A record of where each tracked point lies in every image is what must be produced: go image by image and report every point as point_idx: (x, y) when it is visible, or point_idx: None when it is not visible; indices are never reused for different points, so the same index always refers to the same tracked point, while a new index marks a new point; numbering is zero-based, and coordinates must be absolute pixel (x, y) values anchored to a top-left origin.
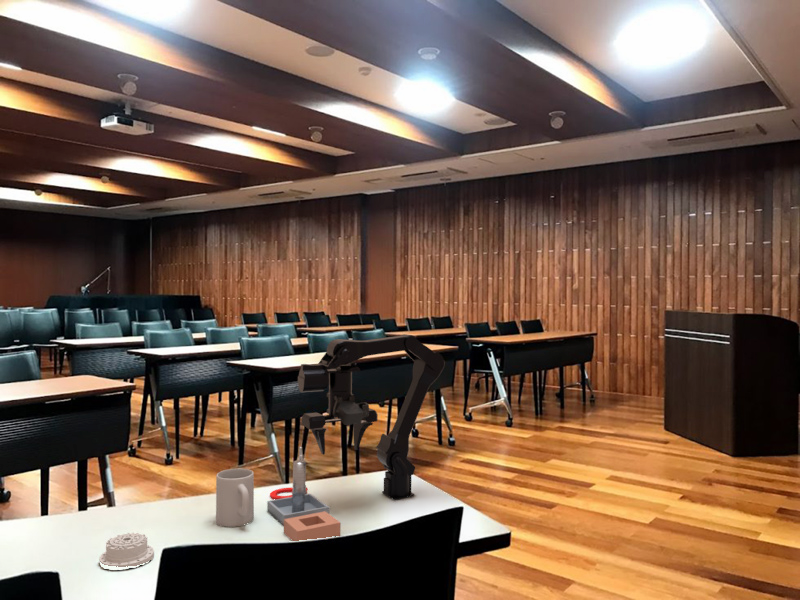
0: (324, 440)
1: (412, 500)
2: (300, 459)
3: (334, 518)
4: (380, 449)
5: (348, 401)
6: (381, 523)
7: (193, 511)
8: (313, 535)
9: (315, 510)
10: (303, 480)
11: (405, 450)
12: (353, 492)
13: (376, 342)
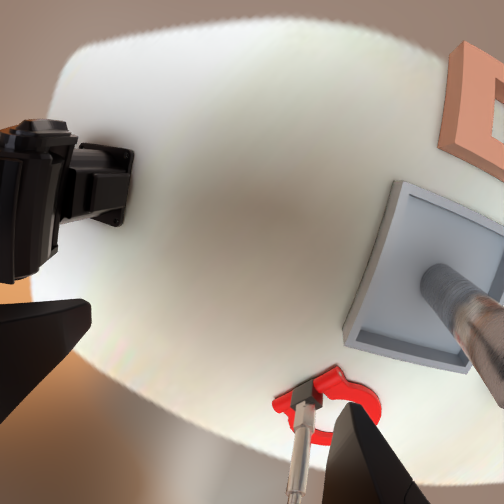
0: (383, 491)
1: (104, 122)
2: (305, 480)
3: (463, 73)
4: (10, 233)
5: None
6: (297, 29)
7: (499, 433)
8: None
9: (449, 200)
10: (493, 303)
11: None
12: (174, 299)
13: None
